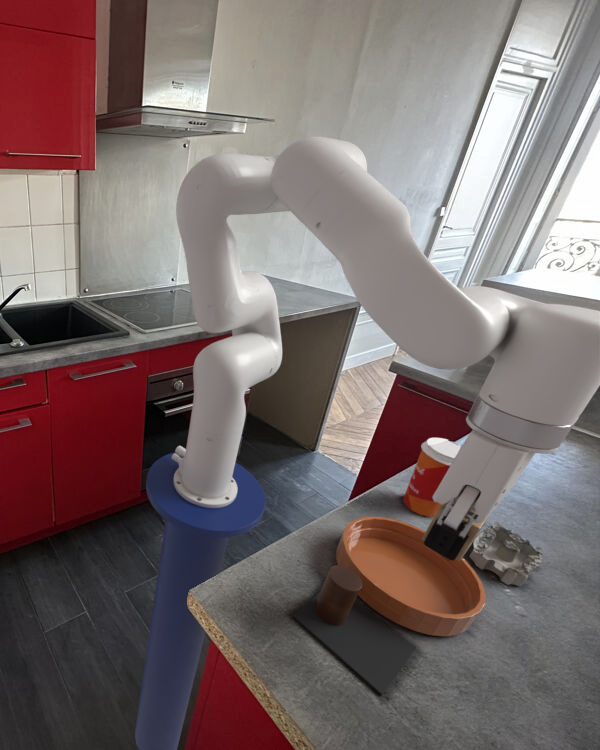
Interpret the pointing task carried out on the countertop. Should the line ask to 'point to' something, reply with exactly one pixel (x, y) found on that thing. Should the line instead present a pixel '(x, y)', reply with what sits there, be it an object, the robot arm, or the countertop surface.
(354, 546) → the pan
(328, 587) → the walnut cylinder
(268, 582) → the countertop surface
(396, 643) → the mat
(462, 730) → the countertop surface
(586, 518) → the countertop surface
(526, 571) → the egg carton
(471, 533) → the birch block
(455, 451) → the paper cup
